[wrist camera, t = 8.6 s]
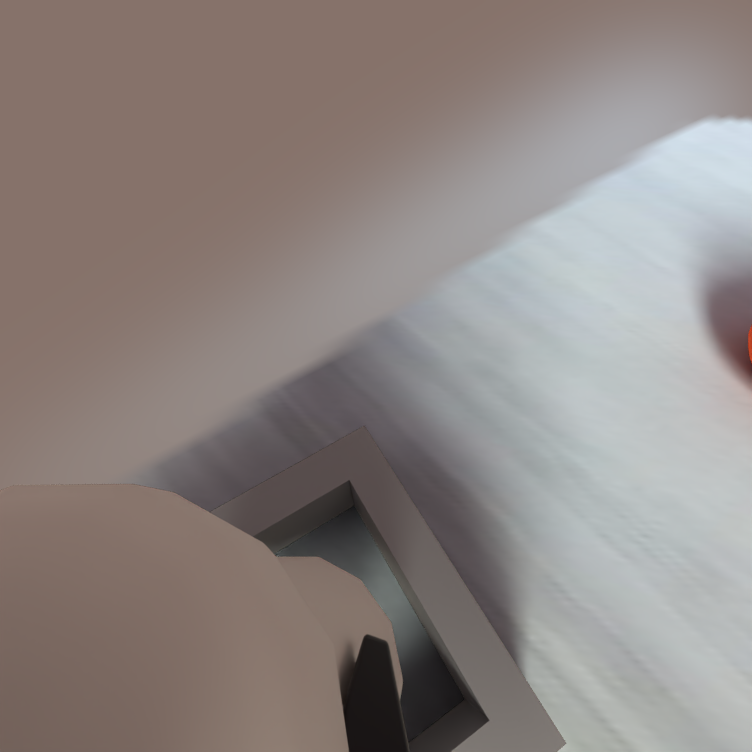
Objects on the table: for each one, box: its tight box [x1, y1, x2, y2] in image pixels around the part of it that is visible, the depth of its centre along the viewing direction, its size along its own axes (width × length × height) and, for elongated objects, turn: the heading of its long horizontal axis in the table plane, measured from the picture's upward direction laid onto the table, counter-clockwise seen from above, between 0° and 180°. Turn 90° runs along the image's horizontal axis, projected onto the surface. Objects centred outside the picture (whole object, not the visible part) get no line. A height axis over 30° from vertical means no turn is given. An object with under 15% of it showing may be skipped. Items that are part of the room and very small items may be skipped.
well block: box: [210, 426, 566, 752], centre depth 15 cm, size 11×11×4 cm
